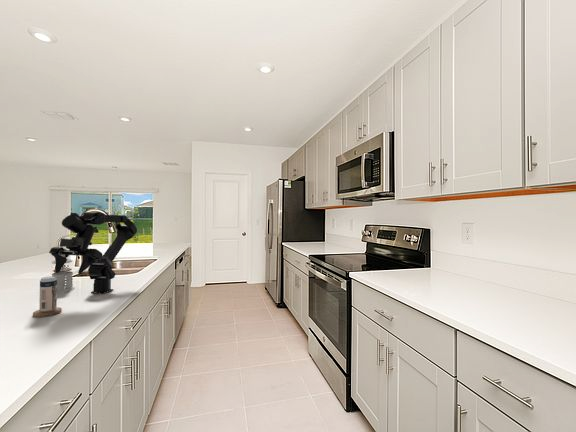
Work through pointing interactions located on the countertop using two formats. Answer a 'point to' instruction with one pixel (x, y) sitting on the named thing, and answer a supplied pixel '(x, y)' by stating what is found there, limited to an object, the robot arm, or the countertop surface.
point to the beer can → (48, 294)
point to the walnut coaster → (47, 313)
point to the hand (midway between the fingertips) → (67, 273)
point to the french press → (61, 277)
